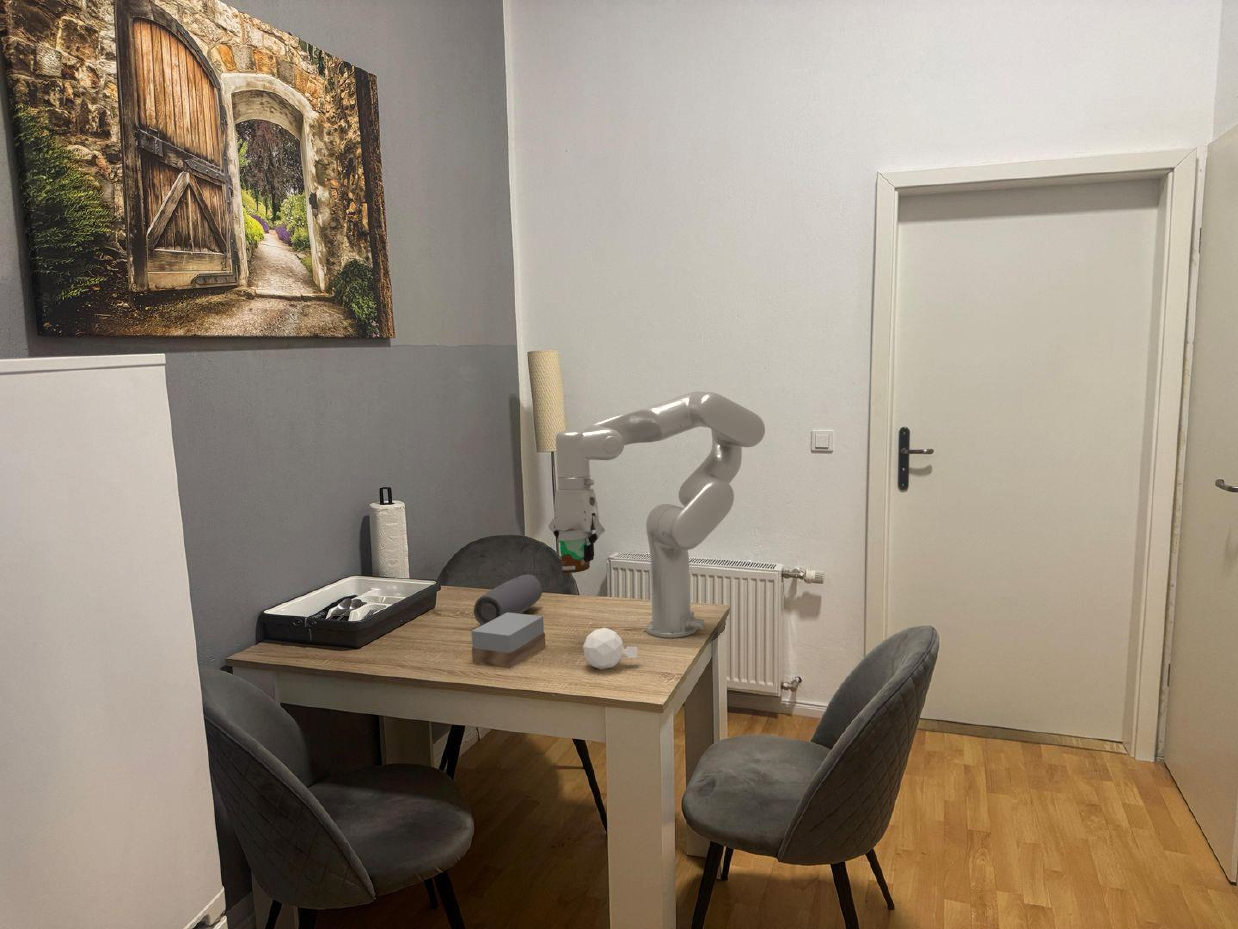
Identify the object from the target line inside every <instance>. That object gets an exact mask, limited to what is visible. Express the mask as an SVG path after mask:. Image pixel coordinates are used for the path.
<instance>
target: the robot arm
mask: <svg viewBox="0 0 1238 929" xmlns="http://www.w3.org/2000/svg"><path fill="white" fill-rule="evenodd" d="M700 427H702V428H708V429H711V430H710V431H711V438H712V442H711V443H712V445H711V449H710V452H709V454H708V455H707V457H706V458H705V459H704V460H703V461H702V463H700V465H699V466H698V467H697V468H696V469H695V470H694V471H693V472H692V473H691V474H690V475H689V476H688V477H687V478H686V479H685V481H683V483H682V484H681V486H680V487H679V490H678V499H679V502H680V504H681V505H682V506H683V507H681V506H678V505H675V504H669V503H663V504H660V505H659V504H658V505H656V506H655V507H654V508H652V509H651V510H650V512H649V514H648V515H647V518H646V525H645V530H646V535H647V541H648V546H649V557H650V558H649V559H650V585H651V586H650V587H651V588H650V589H651V620H652V621H649V622H648V623H647V624H646V626H645V631H646V632H647V633H648V634H650V635H651V636H655V637H660V638H668V639H669V638H681V637H687V636H691V635H693V634H694V633H696V632H697V630H698V629H699V630H704V629H705V628H704V627H705V620H704V619H703V618H697V617H695V611H691V592H690V591H691V590H690V588H691V586H690V584H691V583H690V557H689V556H690V555H689V551H688V550H690V551H691V550H693V549H694V548H697V547H698V546H699V545H701V544H702V543H703V542H704V541H705V539H707V537H709V535H710V534H711V533H712V532H713V531H714V530H715V529H716V527H718V525H719V524H720V523H721V522H722V521H723V520H724V519H725V518H726V517H727V515H728V514H729V513H730V511H731V509H732V507H733V505H734V499H735V493H734V490H733V487H732V485H731V482H732V481H733V480H734V478H735V477H736V476H737V475H738V473H739V472H740V469H741V465H742V454H743V452H742V450H743V449H742V448H753V447H755V446H757V445H759V444H760V443H761V442H762V440H763V439H764V437H765V433H766V427H765V423H764V421H763V419H762V418H761V416H759V415H758V414H757V413H756V412H753V411H752V410H750V409H749V408H746V407H744V406H742V405H740V404H739V403H736V402H735V401H733V400H731V399H730V398H727V397H725V396H723V395H722V394H719V393H716V392H710V391H692V392H688V393H685V394H683V395H680V396H677V397H674V398H671V399H669V400H666V401H664V402H660V403H657V404H654V405H652V406H649V407H645V408H642V409H638V410H637V409H636V410H635V411H632V412H628V413H625V414H621V415H616V416H613V417H610V418H607V419H605V420H601V421H599V422H596V423H593V424H590V425H588V426H587V427H585V428H584V429H583V430H580V429H569V430H561V431H559V432H558V433H557V434H555V450H556V451H555V454H556V471H557V472H556V473H557V489H555V494H554V495H555V496H554V505H553V507H554V509H553V510H554V511H553V518H552V520H551V521H550V523H549V524H547V526H548V529H549V530H550V531H551V533H553V535H554V536H555V538H556V539H557V542H558V543H559V544H560V541H559V532H564V531H576V530H581V529H583V532H585V533H588V532H589V531H590V533H591V534H592V536H590V537H589V536H588V534H587V538H585V544H586V545H584V561H585V562H589V561H590V562H591V561H593V560H595V558H594V557H595V543H597V542H596V541H597V540H598V539H599V538H600V537H601V536H602V535H603V534H604V533H605V531H606V528H605V527H604V526H603V525H602V523H601V522H600V516H599V508H598V502H597V497H596V492H595V490H594V488H591V486H594V485H595V480H594V479H591V472H590V470H591V469H590V461H591V460H592V461H611V460H614V459H616V458H618V457H619V456H620V455H622V453H623V451H624V449H625V446H627V445H631V444H639V443H654V442H661V441H663V440H666V439H669V438H671V437H674V436H676V435H680V434H682V433H685V432H687V431H691V430H693V429H695V428H700ZM590 529H591V530H590ZM594 531H595V532H594ZM560 552H561V549H560Z"/></svg>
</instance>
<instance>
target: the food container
mask: <svg viewBox="0 0 1238 929" xmlns="http://www.w3.org/2000/svg"><path fill="white" fill-rule="evenodd" d="M590 530H591V529H590ZM587 534H588V536H589V537H590V536H592V534H591V533H590V531H589V532H588V533H585V532H583V529H581V530H576V531H564V532H559V541H560V543H559V546H560V547H559V548H560V549H561V551H560V556H561V557H560V558H561V559H560V560H561V570H562V574H573V573H574V574H575V573H581V572H585V571H587V570H589V569H590V562H591V561H589V562H585V561H584V545H586V544H585V538H587Z"/></svg>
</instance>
